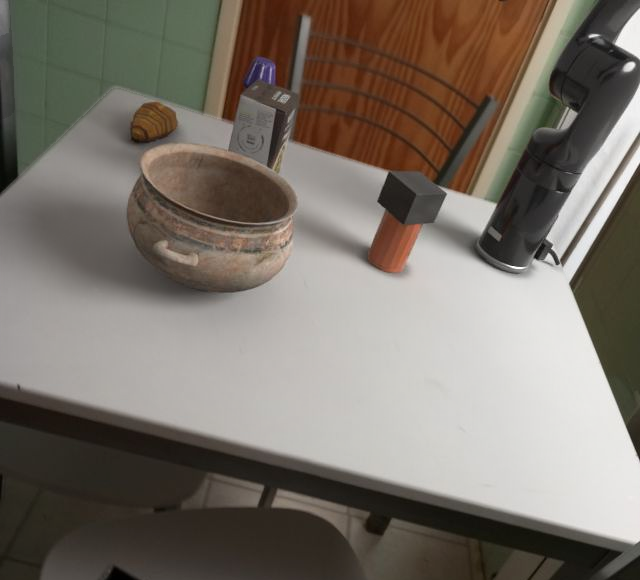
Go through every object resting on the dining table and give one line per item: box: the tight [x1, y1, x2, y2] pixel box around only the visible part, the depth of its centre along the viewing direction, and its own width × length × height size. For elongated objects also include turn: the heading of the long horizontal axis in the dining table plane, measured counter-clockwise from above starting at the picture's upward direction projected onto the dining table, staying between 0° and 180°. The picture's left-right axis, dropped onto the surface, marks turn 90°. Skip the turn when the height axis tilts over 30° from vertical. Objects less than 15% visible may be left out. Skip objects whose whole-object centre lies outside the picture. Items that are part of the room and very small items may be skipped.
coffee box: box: [227, 79, 301, 175], centre depth 93 cm, size 9×6×16 cm
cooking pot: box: [125, 142, 300, 294], centre depth 79 cm, size 25×19×12 cm
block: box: [376, 170, 448, 225], centre depth 93 cm, size 6×6×4 cm
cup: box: [366, 208, 424, 274], centre depth 97 cm, size 6×6×8 cm
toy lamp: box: [242, 56, 276, 90], centre depth 101 cm, size 5×5×17 cm
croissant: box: [129, 101, 179, 144], centre depth 105 cm, size 14×7×5 cm, turn 165°
